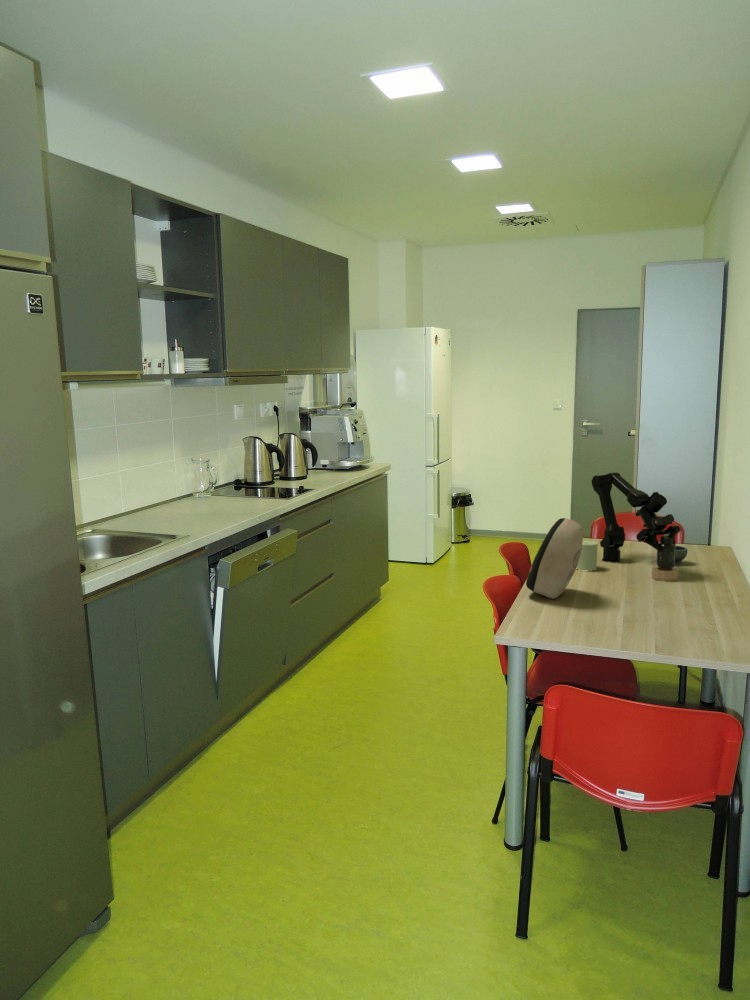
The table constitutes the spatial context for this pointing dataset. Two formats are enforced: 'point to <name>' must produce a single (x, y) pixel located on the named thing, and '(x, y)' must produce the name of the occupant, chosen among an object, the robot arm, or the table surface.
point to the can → (588, 556)
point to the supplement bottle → (666, 553)
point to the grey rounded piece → (556, 559)
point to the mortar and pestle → (680, 554)
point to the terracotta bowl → (665, 573)
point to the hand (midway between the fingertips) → (668, 550)
